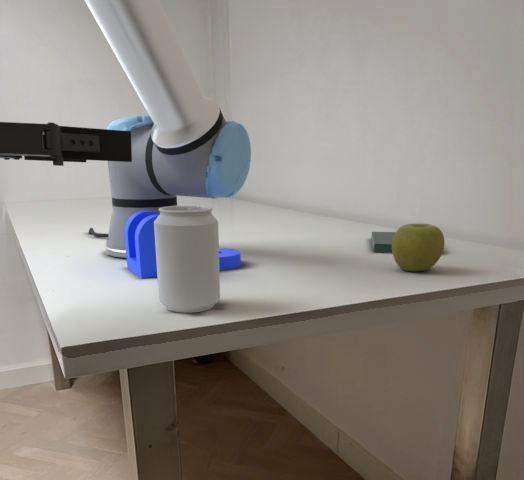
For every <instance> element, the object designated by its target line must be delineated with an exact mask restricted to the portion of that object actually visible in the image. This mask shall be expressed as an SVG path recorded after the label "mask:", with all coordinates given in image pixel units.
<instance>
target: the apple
mask: <svg viewBox="0 0 524 480" xmlns="http://www.w3.org/2000/svg"><path fill="white" fill-rule="evenodd" d="M395 232H396V233H395V234H394V237H393V240H392V257H393V259H394V261H395V263H396V264H397V266H398V267H399V268H400V269H401V270H403V271H406V272H423V271H426V270H430V269H431V268H433V267H434V266H435V265H436V264H437V263H438V262H439V260H440V259H441V257H442V255H443V252H444V249H445V235H444V233H443V231H442V230H441V228H439V227H438V226H436V225H433V224H430V223H407V224H404V225H402V226H400V227H399V228H398V229H397V230H395Z"/></svg>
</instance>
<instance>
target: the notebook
mask: <svg viewBox="0 0 524 480" xmlns="http://www.w3.org/2000/svg"><path fill="white" fill-rule="evenodd" d="M395 233H396V231H371V236H370V241H371V244H372V245H371V246H372V249H373V253H388V254H389V253H392V240H393V237H394V234H395ZM392 254H393V253H392Z"/></svg>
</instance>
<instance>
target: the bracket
mask: <svg viewBox="0 0 524 480" xmlns="http://www.w3.org/2000/svg"><path fill="white" fill-rule="evenodd" d="M158 216H159V214H157V213H155V212H152V211H147V210H143V211H139V212H136V213H134V214H133V215H132V216H131V217H130V218H129V219H128V221H127V223H126V225H125V231H124V233H125V246H126V257H127V258H126V267H127V269H128V270H129V271H131V272H132V273H133V274H134V275H137V277H139V278H140V279H149V278H158V277H157V262H156V246H155V231H154V221H155V220H156V219H157V217H158ZM241 265H242V253H241V251H240V250H238V249H233V248H225V247H224V248H220V247H219V271H226V270H234V269H237V268H239V267H241Z"/></svg>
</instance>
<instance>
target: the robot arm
mask: <svg viewBox="0 0 524 480" xmlns="http://www.w3.org/2000/svg"><path fill="white" fill-rule="evenodd" d="M84 3H85V4H86V6H87V7H88V9H89V10H90V12H91V14H92V17H93V18H94V20H95V21H96V23H97V25H98V27H99V28H100V30H101V32H102V34H103V36H104V38H105V39H106V41H107V43H108V44H109V47H110V48H111V50H112V52H113V53H114V55H115V58H116V59H117V61H118V62H119V64H120V66H121V67H122V70H123V71H124V73H125V74H126V77H127V78H128V80H129V83H131V85H132V87H133V89H134V90H135V92H136V94H137V96H138V98H139V100H140V101H141V103H142V105H143V107H144V108H145V110H146V112H147V114H146V115H145V114H143V115H136V116H127V117H123V118H119V119H115V120H113V121H111V122H110V123H109V124H108V125H107V127H106V128H105V129H104V128H94V127H79V126H69V125H67V126H66V125H59V124H57V123H54V122H47V123H35V122H34V123H33V122H13V121H12V122H9V121H0V159H3V160H5V161H10V160H14V161H15V160H16V161H20V159H24V161H39V162H40V161H42V162H52V166H57V167H58V166H59V167H61V166H62V167H64V166H65V165H64V163H65V162H67V163H87V161H97V162H99V161H101V162H102V161H103V162H107V167H108V177H109V186H110V194H111V195H110V196H111V205H112V213H111V217H110V222H109V228H108V233H101V232H96V231H95V229H94V228H93V227H90V228H89V229H88V233H87V234H88V235H92V236H93V237H96V238H106V240H105V252H106V255H108V256H111V257H113V258H120V259H127V257H126V246H125V233H124V231H125V225H126V223H127V221H128V219H129V218H130V217H131V216H132V215H133V214H134V213H136V212H139V211H143V210H147V211H152V212H155V213H157V214H159V215H160V211H159V208H162V207H169V206H178V197H179V196H180V197H191V198H205V199H212V200H215V199H217V198H218V199H220V198H221V199H222V198H231V197H233V196H235V195H236V194H238V193H239V192H240V191H241V189H242V188H243V186H244V184H245V183H246V180H247V178H248V176H249V172H250V166H251V161H252V146H251V141H250V136H249V133H248V131H247V129H246V127H245V126H244V125H243V124H241V123H240V122H239V123H238V122H237V121H235V120H230V121H227V120H226V118H225V116H224V114H223V112H222V110H221V108H220V105H219V104H218V102H217V101H216V100H215V99H214V98H211V97H208V96H204V94H203V93H202V91H201V87H200V86H199V84H198V81H197V79H196V77H195V75H194V73H193V71H192V68H191V66H190V64H189V62H188V59H187V58H186V55H185V54H184V51H183V49H182V47H181V45H180V42H179V40H178V38H177V36H176V34H175V31H174V29H173V27H172V24H171V23H170V20H169V19H168V16H167V14H166V12H165V10H164V7H163V5H162V3H161V1H160V0H84Z"/></svg>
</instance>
